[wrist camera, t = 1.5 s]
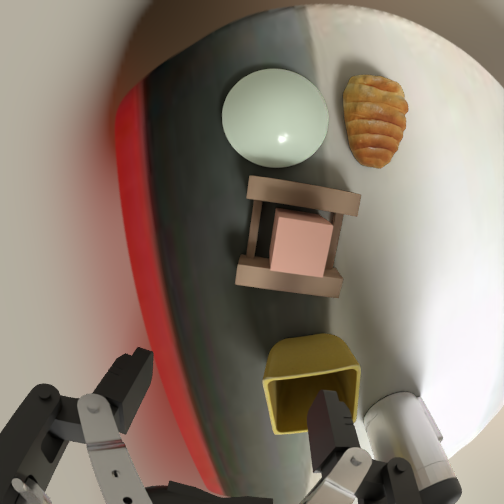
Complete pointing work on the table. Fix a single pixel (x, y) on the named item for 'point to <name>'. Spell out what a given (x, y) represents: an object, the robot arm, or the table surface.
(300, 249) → the part
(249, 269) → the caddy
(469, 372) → the table surface
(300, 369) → the flower pot
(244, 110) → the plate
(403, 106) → the pastry
